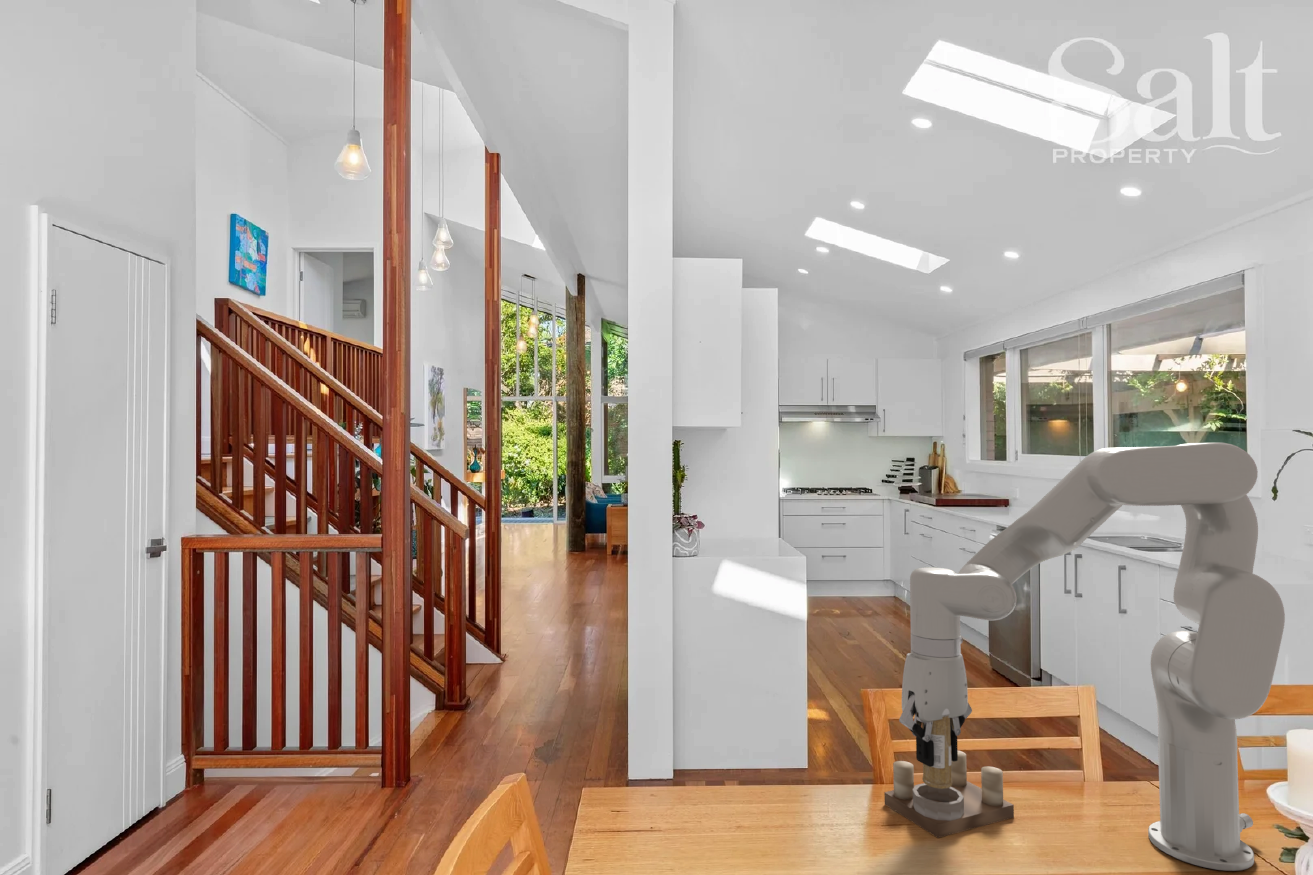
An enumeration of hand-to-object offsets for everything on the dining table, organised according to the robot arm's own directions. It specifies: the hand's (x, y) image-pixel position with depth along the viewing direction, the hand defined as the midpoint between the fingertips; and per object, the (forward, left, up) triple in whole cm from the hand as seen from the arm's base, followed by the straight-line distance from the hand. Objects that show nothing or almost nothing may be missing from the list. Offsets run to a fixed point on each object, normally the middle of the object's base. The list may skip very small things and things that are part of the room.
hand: (936, 759), depth 118 cm
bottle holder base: (-4, -2, -10) cm, 11 cm away
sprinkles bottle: (0, 0, -4) cm, 4 cm away
